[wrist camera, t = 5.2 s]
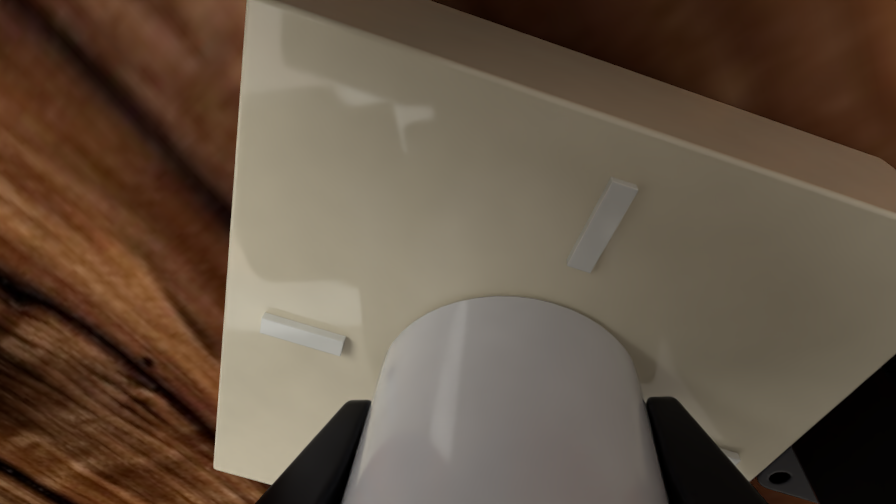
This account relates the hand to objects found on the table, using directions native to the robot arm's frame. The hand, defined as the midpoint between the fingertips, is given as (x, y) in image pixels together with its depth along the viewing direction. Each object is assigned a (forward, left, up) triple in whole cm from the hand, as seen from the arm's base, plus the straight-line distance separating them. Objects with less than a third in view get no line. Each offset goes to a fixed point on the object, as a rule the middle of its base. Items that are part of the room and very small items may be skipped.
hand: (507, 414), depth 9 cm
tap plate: (0, 0, -4) cm, 4 cm away
